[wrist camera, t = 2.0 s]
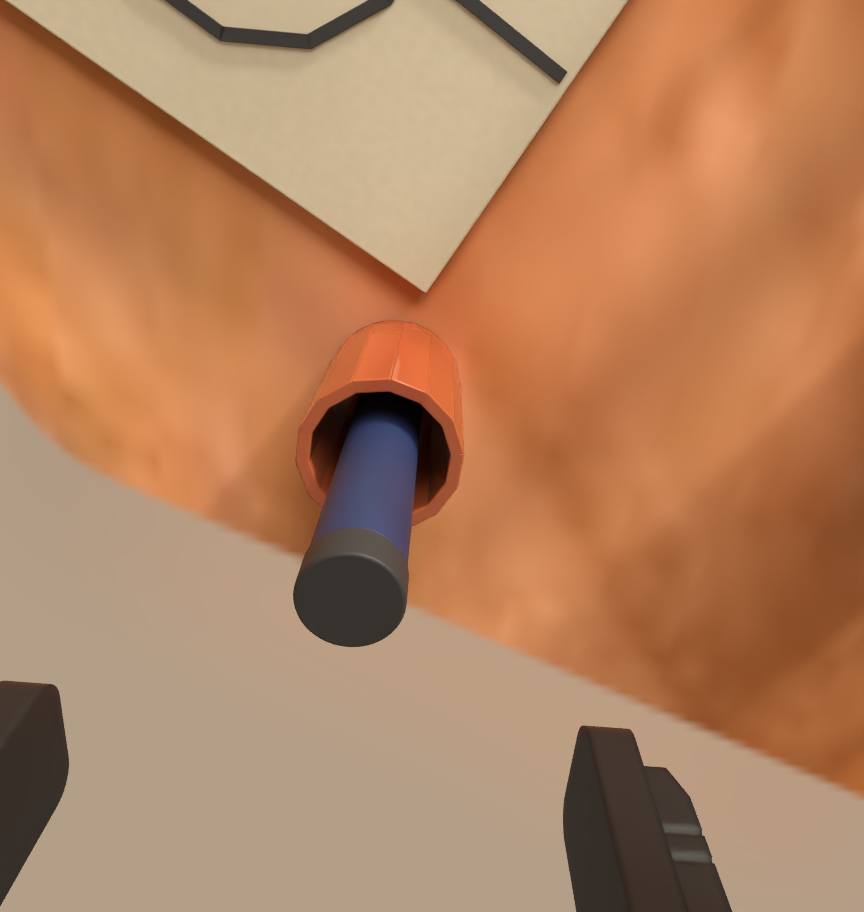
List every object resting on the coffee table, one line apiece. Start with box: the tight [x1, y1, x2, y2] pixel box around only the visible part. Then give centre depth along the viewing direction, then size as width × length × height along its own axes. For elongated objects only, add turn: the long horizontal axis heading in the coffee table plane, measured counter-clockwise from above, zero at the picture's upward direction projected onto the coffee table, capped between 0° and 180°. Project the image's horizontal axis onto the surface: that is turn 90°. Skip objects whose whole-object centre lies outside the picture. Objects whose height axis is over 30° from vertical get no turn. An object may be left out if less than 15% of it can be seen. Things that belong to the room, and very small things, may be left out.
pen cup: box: [296, 320, 464, 527], centre depth 25 cm, size 5×5×7 cm
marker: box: [293, 392, 422, 647], centre depth 21 cm, size 2×2×14 cm
